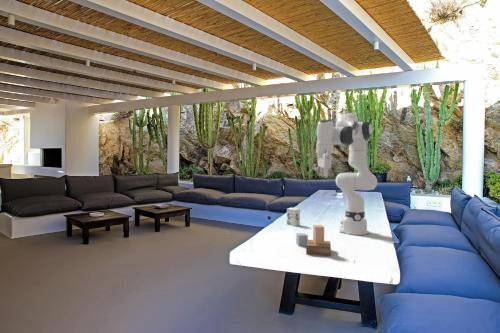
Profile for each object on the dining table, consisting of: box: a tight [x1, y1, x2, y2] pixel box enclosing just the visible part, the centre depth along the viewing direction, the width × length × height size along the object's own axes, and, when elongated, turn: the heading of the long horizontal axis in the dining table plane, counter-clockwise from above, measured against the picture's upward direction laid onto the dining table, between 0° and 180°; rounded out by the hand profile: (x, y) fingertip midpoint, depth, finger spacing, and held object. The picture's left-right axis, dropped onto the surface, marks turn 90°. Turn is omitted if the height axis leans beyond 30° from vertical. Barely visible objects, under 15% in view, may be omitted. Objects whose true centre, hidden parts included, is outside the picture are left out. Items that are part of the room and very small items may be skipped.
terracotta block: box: [312, 224, 325, 245], centre depth 177 cm, size 4×4×9 cm
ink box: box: [286, 207, 301, 227], centre depth 243 cm, size 9×5×12 cm, turn 37°
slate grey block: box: [295, 232, 309, 247], centre depth 190 cm, size 5×5×6 cm
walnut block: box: [305, 239, 332, 257], centre depth 177 cm, size 12×12×5 cm
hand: (324, 176), depth 182 cm, fingers open, 8 cm apart
